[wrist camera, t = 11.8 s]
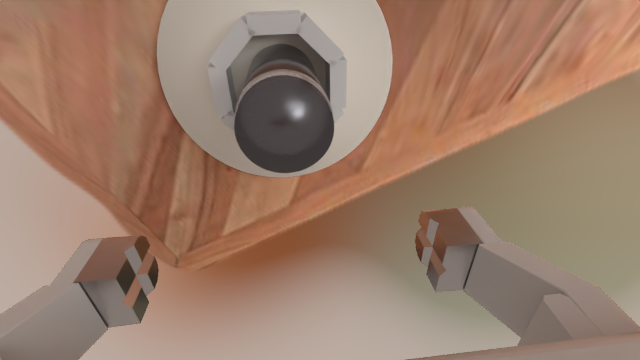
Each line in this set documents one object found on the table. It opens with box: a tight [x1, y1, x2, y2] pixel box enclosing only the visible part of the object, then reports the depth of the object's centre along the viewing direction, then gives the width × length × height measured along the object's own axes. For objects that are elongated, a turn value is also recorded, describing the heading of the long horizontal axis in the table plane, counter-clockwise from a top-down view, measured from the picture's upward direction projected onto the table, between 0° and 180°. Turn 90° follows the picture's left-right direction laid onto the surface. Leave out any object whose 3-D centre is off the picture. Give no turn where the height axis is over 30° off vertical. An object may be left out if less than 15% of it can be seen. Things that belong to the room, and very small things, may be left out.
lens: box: [234, 44, 334, 173], centre depth 21 cm, size 5×5×10 cm
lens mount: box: [157, 0, 393, 177], centre depth 25 cm, size 18×18×4 cm
